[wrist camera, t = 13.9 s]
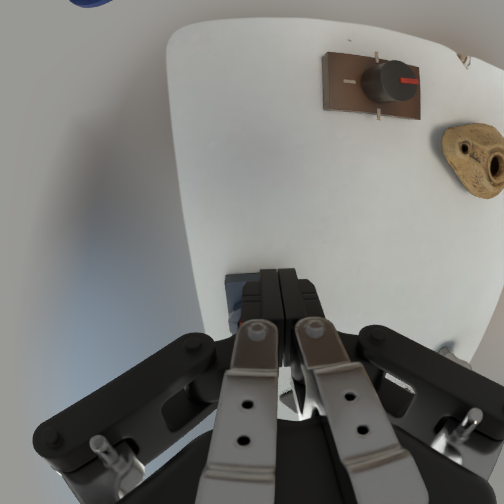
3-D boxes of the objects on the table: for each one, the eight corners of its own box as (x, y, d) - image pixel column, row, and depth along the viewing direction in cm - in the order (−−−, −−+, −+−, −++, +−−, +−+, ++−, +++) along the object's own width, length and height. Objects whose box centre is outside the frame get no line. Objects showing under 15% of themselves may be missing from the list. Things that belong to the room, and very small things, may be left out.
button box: (225, 274, 41) (223, 290, 37) (276, 271, 41) (278, 286, 37) (234, 340, 46) (233, 357, 42) (278, 337, 46) (280, 354, 42)
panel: (323, 116, 32) (330, 115, 29) (321, 51, 29) (327, 45, 26) (409, 125, 32) (421, 126, 29) (407, 64, 28) (419, 61, 26)
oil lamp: (430, 110, 31) (465, 112, 24) (498, 130, 31) (532, 137, 24) (424, 186, 35) (457, 202, 28) (491, 195, 35) (523, 211, 28)
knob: (363, 102, 29) (384, 100, 23) (358, 67, 27) (378, 58, 22) (396, 103, 28) (421, 102, 23) (391, 68, 27) (415, 62, 21)
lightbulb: (441, 336, 47) (466, 374, 37) (458, 340, 48) (482, 375, 38) (424, 359, 50) (445, 398, 39) (442, 361, 50) (463, 397, 40)
